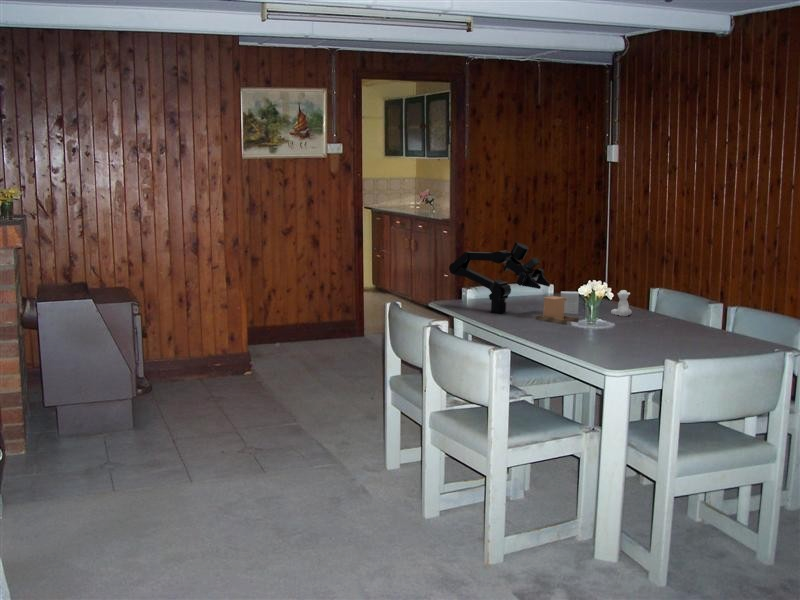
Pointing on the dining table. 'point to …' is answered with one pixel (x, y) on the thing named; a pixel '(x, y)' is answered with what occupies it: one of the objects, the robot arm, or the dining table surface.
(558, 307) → the block
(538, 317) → the chute
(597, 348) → the dining table surface
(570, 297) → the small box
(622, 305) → the white creature statuette
